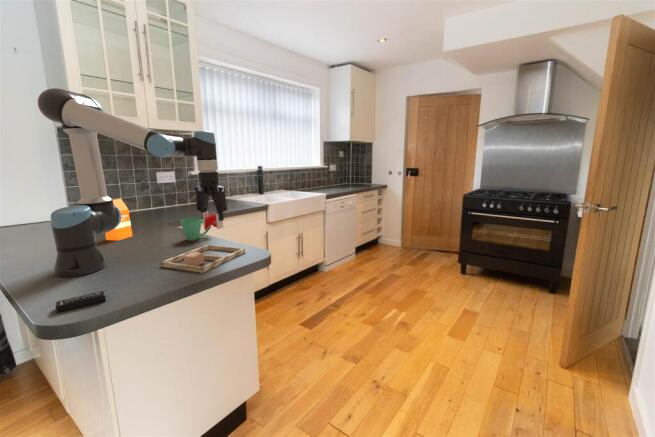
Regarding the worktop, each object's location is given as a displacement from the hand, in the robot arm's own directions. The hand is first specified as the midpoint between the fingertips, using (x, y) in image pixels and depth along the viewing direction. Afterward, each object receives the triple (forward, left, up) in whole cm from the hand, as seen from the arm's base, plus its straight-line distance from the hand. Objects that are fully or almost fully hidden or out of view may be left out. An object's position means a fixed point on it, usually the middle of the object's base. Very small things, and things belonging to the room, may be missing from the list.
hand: (213, 227), depth 131 cm
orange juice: (+7, +69, -12) cm, 70 cm away
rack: (-6, 0, -12) cm, 13 cm away
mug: (+19, +28, -12) cm, 36 cm away
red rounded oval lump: (0, 0, -1) cm, 1 cm away
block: (-12, 0, -12) cm, 17 cm away
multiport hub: (-49, +5, -12) cm, 51 cm away
